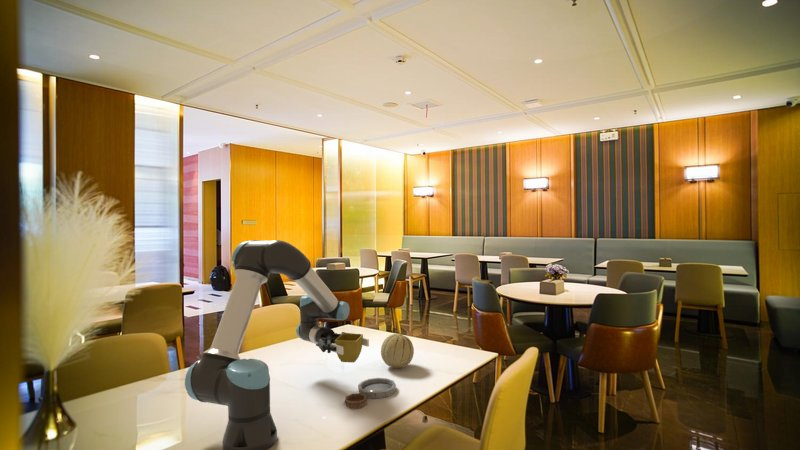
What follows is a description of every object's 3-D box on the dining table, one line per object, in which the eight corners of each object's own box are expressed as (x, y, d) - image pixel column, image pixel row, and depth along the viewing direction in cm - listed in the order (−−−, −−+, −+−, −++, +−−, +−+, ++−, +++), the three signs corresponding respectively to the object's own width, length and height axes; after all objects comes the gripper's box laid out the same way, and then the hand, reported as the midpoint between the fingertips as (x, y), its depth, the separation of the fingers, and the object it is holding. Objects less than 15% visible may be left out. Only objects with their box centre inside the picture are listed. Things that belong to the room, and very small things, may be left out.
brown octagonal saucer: (353, 410, 135) (353, 404, 135) (340, 404, 141) (340, 398, 141) (371, 403, 141) (370, 397, 141) (357, 397, 146) (357, 391, 146)
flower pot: (357, 365, 145) (356, 340, 145) (334, 364, 147) (334, 340, 147) (364, 357, 154) (363, 334, 154) (342, 356, 155) (341, 333, 155)
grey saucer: (375, 402, 142) (374, 396, 142) (351, 391, 152) (351, 385, 152) (402, 389, 151) (402, 384, 151) (378, 380, 162) (378, 375, 162)
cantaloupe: (377, 372, 170) (376, 337, 170) (386, 360, 185) (385, 328, 185) (410, 374, 167) (409, 338, 167) (417, 362, 181) (416, 329, 181)
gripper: (345, 338, 171) (379, 348, 156) (297, 352, 155) (329, 365, 139) (345, 321, 171) (379, 329, 156) (296, 333, 155) (328, 344, 139)
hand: (355, 346), depth 148 cm, fingers closed on flower pot, 11 cm apart
